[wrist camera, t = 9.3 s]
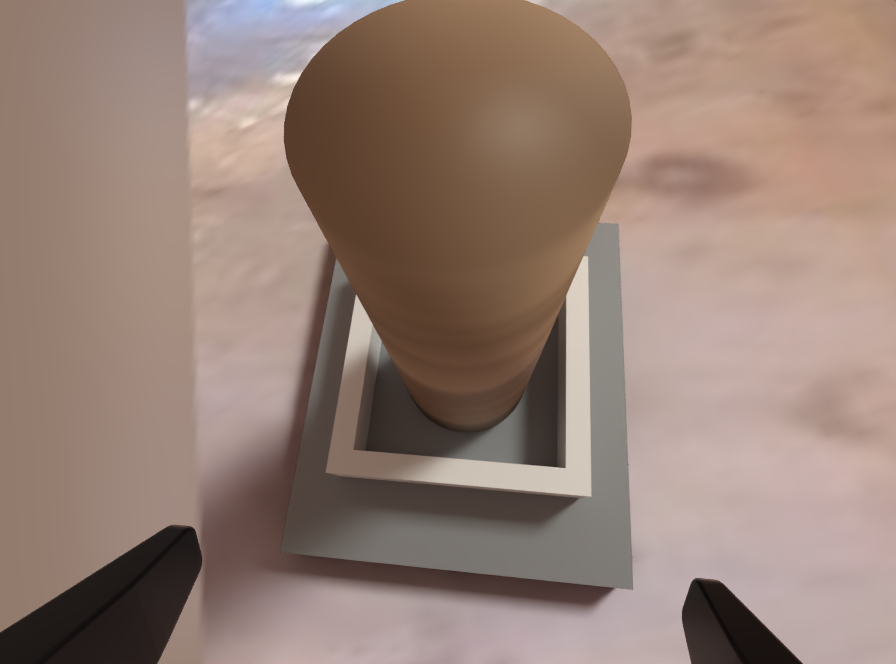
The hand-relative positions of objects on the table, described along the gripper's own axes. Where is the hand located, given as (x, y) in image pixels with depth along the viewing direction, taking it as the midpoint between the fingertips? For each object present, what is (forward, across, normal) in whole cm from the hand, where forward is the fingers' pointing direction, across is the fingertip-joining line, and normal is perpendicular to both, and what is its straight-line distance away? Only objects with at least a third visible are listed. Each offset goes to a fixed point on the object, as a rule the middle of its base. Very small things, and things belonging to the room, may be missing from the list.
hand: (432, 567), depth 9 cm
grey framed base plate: (+11, 0, +2) cm, 11 cm away
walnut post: (+10, 0, +2) cm, 10 cm away
